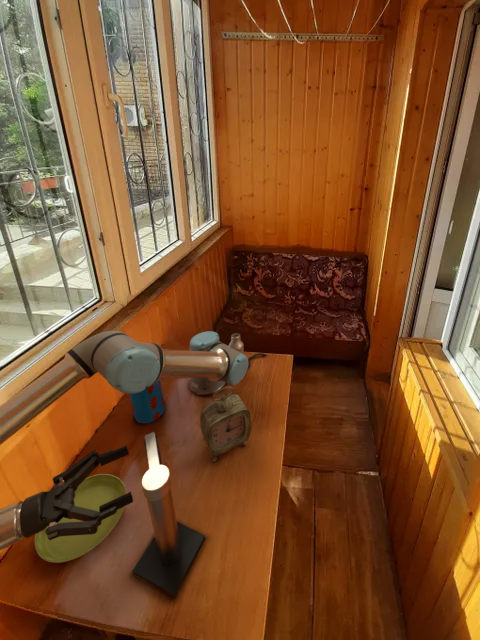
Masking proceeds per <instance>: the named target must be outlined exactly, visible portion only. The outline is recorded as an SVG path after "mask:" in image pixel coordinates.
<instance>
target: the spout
mask: <svg viewBox="0 0 480 640" xmlns="http://www.w3.org/2000/svg"><path fill="white" fill-rule="evenodd" d="M143 445H144V450H145V454H146V455H145V456H146V460H147V464H148V469H147V470H146V472H145V473H144V475H143V476H142V477H141V478H142V479H141V486H142V491H143V496H144V498H145V499H146V501H147V500H149V501H157V500H160V499H162V498H163V497H164V496H165V495H166V494H167V493H168V492H169V490H170V488H171V487H172V479H171V472H170V468H169V467H168V466H166V465H165V464H163V459H162V455H161V448H160V443H159V437H158V435H156V434H155V431H152V432H150V433H147V434H145V435H144V441H143ZM171 489H172V488H171Z"/></svg>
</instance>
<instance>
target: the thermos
mask: <svg viewBox="0 0 480 640" xmlns="http://www.w3.org/2000/svg"><path fill="white" fill-rule="evenodd" d="M161 380H162V379H158V380H157V381H156V382H155V383H153V384H152V385H150V386H149V387H148V386H147V387H146V388H145V390H143V391H141V392H138V393H134V394H128V395H129V400H130V405H131V409H132V413H133V416H134V419H135V421H136V422H137V423H139V424H150V423H152V422H154V421H157V420H158V419H159V418H160V417H161V416H162V415H163V414H164V412H165V399H164V393H163V392H164V391H163V385H162V381H161Z"/></svg>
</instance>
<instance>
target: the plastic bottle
mask: <svg viewBox="0 0 480 640" xmlns="http://www.w3.org/2000/svg"><path fill="white" fill-rule="evenodd" d="M241 338H242V337H241V334H240V333H237V332H236V333H232V334H231V337H230V342H229V343H228V346H229V347H231V348H233V349H235V350H237V351H238V352H240V353H243V354H244V351H245V345H244V342H243V341H242V339H241Z"/></svg>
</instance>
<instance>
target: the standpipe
mask: <svg viewBox="0 0 480 640" xmlns="http://www.w3.org/2000/svg"><path fill="white" fill-rule="evenodd" d="M146 502H147V506H148V511H149V516H150V520H151V526H152V530H153V535H154V537H153V538H152V540H151V541H150V543H149V544H148V546H147V547H146V549H145V551H143V553H142V555H141V557H140V558H139V559H138V561H137V563H136V565H134V568H133V569H132V575H133V576H135V577H136V578H138V579H140V580H142V581H143V582H145V583H146V584H149V585H150V586H152V587H153V588H156V589H157V590H158V591H160V592H162V593H164V594H165V595H167V596H168V597H171V598H173V599H174V600H175V599H176V597H177V595H178V593H179V591H180V590H181V588H182V586H183V584H184V582H185V580H186V579H187V575H188V574H189V572H190V570H191V569H192V566H193V565H194V563H195V560H196V559H197V556H198V555H199V553H200V551H201V549H202V547H203V545H204V543H205V541H206V535H204V534H203V533H201V532H199V531H197V530H195V529H193V528H191V527H188V526H187V525H184V524H182V523H181V522H179V521H177V515H176V511H175V505H174V498H173V493H172V488H170V490H169V492H168V493H167V494H166V495H165V496H164V497H163V498H162V499H160V500H157V501H149V500H147V499H146Z"/></svg>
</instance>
